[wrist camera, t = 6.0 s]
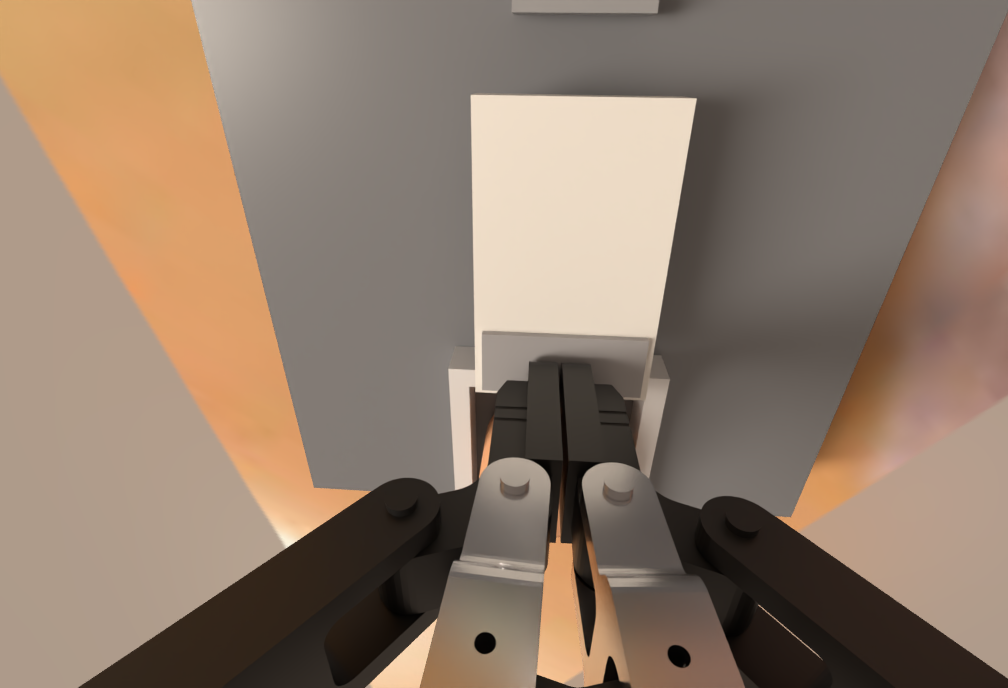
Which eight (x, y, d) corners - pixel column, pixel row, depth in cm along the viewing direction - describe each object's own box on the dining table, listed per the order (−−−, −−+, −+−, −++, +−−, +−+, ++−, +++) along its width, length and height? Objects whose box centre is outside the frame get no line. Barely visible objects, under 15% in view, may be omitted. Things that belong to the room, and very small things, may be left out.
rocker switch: (682, 96, 11) (699, 98, 10) (638, 376, 14) (647, 404, 13) (477, 93, 11) (469, 94, 10) (480, 369, 14) (474, 396, 13)
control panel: (1194, -756, 8) (1734, -1422, 4) (761, 459, 21) (806, 547, 18) (117, -676, 9) (-173, -1160, 5) (341, 436, 22) (300, 514, 19)
